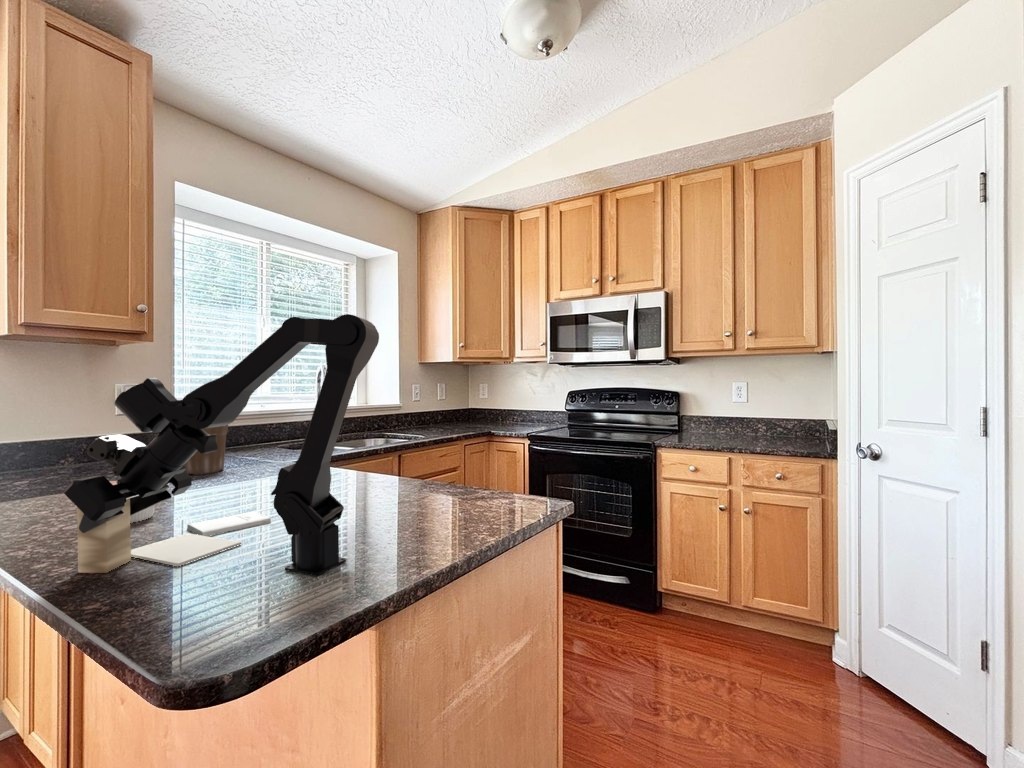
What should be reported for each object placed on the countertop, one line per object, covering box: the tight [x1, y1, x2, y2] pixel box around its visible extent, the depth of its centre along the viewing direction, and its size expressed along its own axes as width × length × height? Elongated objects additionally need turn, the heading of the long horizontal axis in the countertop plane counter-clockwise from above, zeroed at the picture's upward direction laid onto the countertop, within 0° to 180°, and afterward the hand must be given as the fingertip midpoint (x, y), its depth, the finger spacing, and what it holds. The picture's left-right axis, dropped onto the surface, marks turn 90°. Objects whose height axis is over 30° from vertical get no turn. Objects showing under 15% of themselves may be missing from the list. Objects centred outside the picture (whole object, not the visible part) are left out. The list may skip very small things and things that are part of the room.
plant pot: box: [184, 424, 229, 476], centre depth 160 cm, size 16×16×16 cm
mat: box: [131, 532, 242, 567], centre depth 84 cm, size 14×11×1 cm
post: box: [76, 480, 132, 574], centre depth 77 cm, size 4×4×13 cm
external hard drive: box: [186, 511, 271, 537], centre depth 99 cm, size 2×8×12 cm
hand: (99, 524), depth 77 cm, fingers open, 6 cm apart
